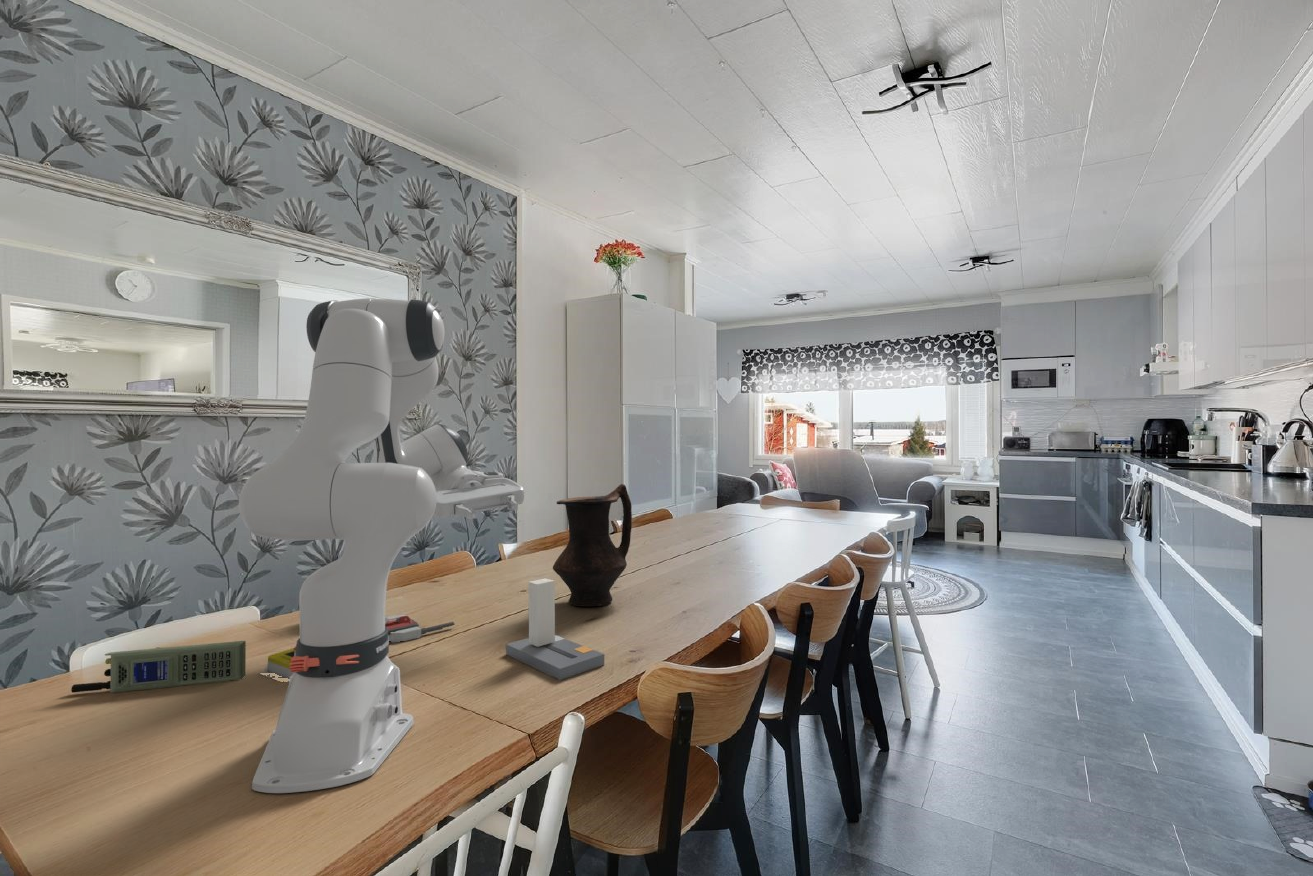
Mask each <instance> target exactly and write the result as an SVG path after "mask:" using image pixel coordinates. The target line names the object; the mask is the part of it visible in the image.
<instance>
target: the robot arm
mask: <svg viewBox="0 0 1313 876" xmlns="http://www.w3.org/2000/svg"><path fill="white" fill-rule="evenodd" d="M305 325H306V327H305V328H306V335H307V336H306V337H307V340H308V343H309V345H310V348H311V350H313V352H314V359H313V364H312V370H311V371H312V372H311V380H310V389H309V396H308V401H307V407H306V411H305V416H304V419H303V421H302V424H301V427H300V429H299V430H298V432H297V434H296V435H295V437H294V439H292V441H291V442H290V444H289V445H288V446H287V447H286V448H285V449H284V450H283V452H281V454H279V455H278V456H276V458H275V459H273V460H272V461H270V463H268V464H266V465H265V466H263V467H261V468H260V469H258V470H256V471H255V472H254V473H252V474H251V476H249V478H248V479H247V480H246V481H245V482H244V485H243V486H242V487H241V488H242V489H241V491H240V493H239V498H238V511H239V514H240V518H241V521H242V522H243V524H244V526H245V527H246V529H248V531H249V532H251V534H252V535H254V536H257V537H261V538H269V539H274V540H281V541H289V542H298V541H300V542H301V541H320V540H322V541H323V540H342V541H344V547H343V553H342V555H341V557H340V558H338V559H336V560H334V561H331V562H330V563H327V564H326V565H323V566H322V567H321V568H318V569H317V570H315V571H313V572H312V573H311V574H310V575H308V577H307V578H306V579H305V580H304V582H303V583H302V584H301V587H300V590H299V593H298V596H299V598H298V600H299V604H298V605H299V607H298V609H299V613H298V614H299V637H298V639H297V640H296V643H295V645H296V646H295V647H296V650H295V653H294V657H292V659H291V662H290V671H291V672H292V673H293V672H295V673H294V674H292V676H290V682H288V686H287V689H286V692H285V695H284V699H283V702H282V706H281V710H280V711H279V715H278V719H277V723H276V727H275V729H274V730H273V731H272V733H271V734H270V737H269V740H268V741H267V744H266V747H265V750H264V752H263V754H262V756H261V759H260V762H259V763H258V766H257V769H256V771H255V774H254V776H253V779H252V783H251V785H252V786H251V790H253V791H255V792H260V793H265V794H266V793H267V794H288V793H300V792H301V793H302V792H310V791H319V790H324V789H330V788H335V787H340V786H344V785H347V784H352V783H355V782H358V781H362V780H364V779H366V778H369V777H370V776H373V774H374V773H376V771H378V769H379V767H380V766H381V765H382V764H383V762H384V761H385V760H386V759H387V757H389V755H390V754H391V752H392V751H393V750H394V749H395V747H396V746H397V745H398V744H399V743H400V741H402V740H403V738H404V737H405V735H406V734H407V733H408V732H409V730H410V729H411V727H412V726H414V723H415V722H414V716H413V715H412V714H410V713H406V712H403V708H402V707H403V706H402V705H403V704H402V685H401V671H400V667H398V666H397V665H396V664H395V663H393V662H392V661H391V659H390V657H389V656H388V654H389V653H390V652H389V651H390V650H389V648H390V647H389V644H390V642H389V636H388V628H387V627H385V618H386V599H387V598H386V596H387V588H388V580H389V579H388V578H389V575H390V571H391V568H392V565H393V564H394V561H395V559H396V558H397V556H398V554H399V553H400V551H401V550H402V549H403V547H404V546H405V545H406V544H407V543H408V542H409V541H410V540H411V539H412V538H414V536H416V535H417V534H418V533H419V532H421V531H422V530H423V529H424V528H425V527H426V526H427V525H428V524H429V523H430V521H431V520H432V518H433V516H434V517H435V518H436V519H440V520H444V519H451V518H456V517H459V518H460V517H461V518H465V519H468V520H475V519H477V513H480V512H481V513H482V512H485V511H491V510H496V509H502V508H507V510H508V511H510V512H514V511H518V510H519V509H518V508H519V507H518V506H519V505H521V504H523V502H524V500H525V488H524V487H523V486H522V485H520V484H519V483H517V482H516V481H515V480H512V479H510V478H507V477H504V474H503V473H502V472H499V471H491V472H490V471H479V470H472V469H470V468H468V467H467V465H468V461H469V459H468V458H469V453H468V452H469V451H468V448H467V446H466V443H465V442H464V440H463V439H462V437H461V435H460V434H459V433H458V432H457V431H456V430H455V429H453V428H451V427H449V426H447V425H445V424H441V423H437V424H435V425H433V426H431V427H429V428H426V429H425V430H422V431H421V432H419V433H417V434H415V435H413V436H412V437H409V438H407V439H406V440H404V441H402V442H401V437H400V425H401V423H402V421H403V420H404V419H405V417H406V416H407V415H408V414H409V413H410V412H411V411H412V410H413V409H414V408H416V407H417V406H418V404H420V403H421V402H422V401H423V400H425V399H426V398H427V397H428V396H429V395H430V394H431V393H432V392H433V390H434V389H435V387H436V386H437V384H438V381H439V374H440V373H439V365H438V360H437V356H438V355H439V354H440V352H441V351H442V349H443V346H444V340H445V335H446V332H445V331H446V330H445V325H444V321H443V319H442V316H441V314H440V311H439V309H438V308H437V307H435V306H434V305H433V304H432V303H431V302H429V301H426V300H420V299H414V298H413V299H410V300H404V299H391V298H390V299H389V298H388V299H387V298H374V297H371V298H368V297H367V298H356V299H355V298H353V299H347V300H340V301H339V300H334V299H333V300H328V301H324V302H321V303H317V304H316V305H315V306H314V307H313V308H312V310H311V311H310V312H309V313H308V316H307V318H306V324H305ZM374 440H375V447H376V453H377V455H376V462H347V459H348V458H349V456H351V454H352V453H354V451H356V450H357V449H358V448H359V447H361V446H363V445H365V444H367V443H370V442H373V441H374ZM346 462H347V463H346Z"/></svg>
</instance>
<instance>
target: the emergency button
mask: <svg viewBox="0 0 1313 876" xmlns="http://www.w3.org/2000/svg"><path fill="white" fill-rule="evenodd" d="M295 650H296V646H295V647H294V648H290V649H287V650H283V651H279V652H275V653H272V654H269V655H268V656H267V667H266V668H267V669H264V670H262V671H261V670H260V671H259V672H258V674H259V673H275V674H277V675H279V676H282V677H278V678H288V679H290V676H292V674H294V673H295V672H293V673H292V672H291V671H290V662H291V659H292V657H294V653H295ZM265 676H266V675H264V676H263V677H265ZM267 677H268V678H267ZM265 678H267V679H270V678H275V676H272V677H270V674H269V675H267V676H266V677H265ZM283 682H284V681H283ZM288 683H289V681H288Z"/></svg>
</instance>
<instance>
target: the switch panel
mask: <svg viewBox="0 0 1313 876" xmlns="http://www.w3.org/2000/svg"><path fill="white" fill-rule="evenodd" d="M505 655H507V656H509V657H511V658H513V659H515V660H517V661H519V662H521V663H524V664H526V665H527V666H530V667H532V668H533V669H535V670H538V671H540V672H542V673H545V674H546V675H548V676H551V677H552V678H555V679H557V680H558V681H562V680H565V679H567V678H570V677H573V676H576V675H579V674H582V673H585V672H587V671H591V670H593V669H596V668H599V667H602V666H604V665H605V653H603V652H600V651H597V650H595V649H592V648H590V647H587V646H585V645H583V644H580V643H578V642H574V641H572V640H569V639H567V638H564V637H562V636H559V635H557V634H555V642H552V643H549V644H546V645H542V646H539V647H537V646H535V645H532V644H530V643H529V637H527V638H523V639H520V640H516V641H512V642H509V643H506V644H505Z"/></svg>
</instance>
